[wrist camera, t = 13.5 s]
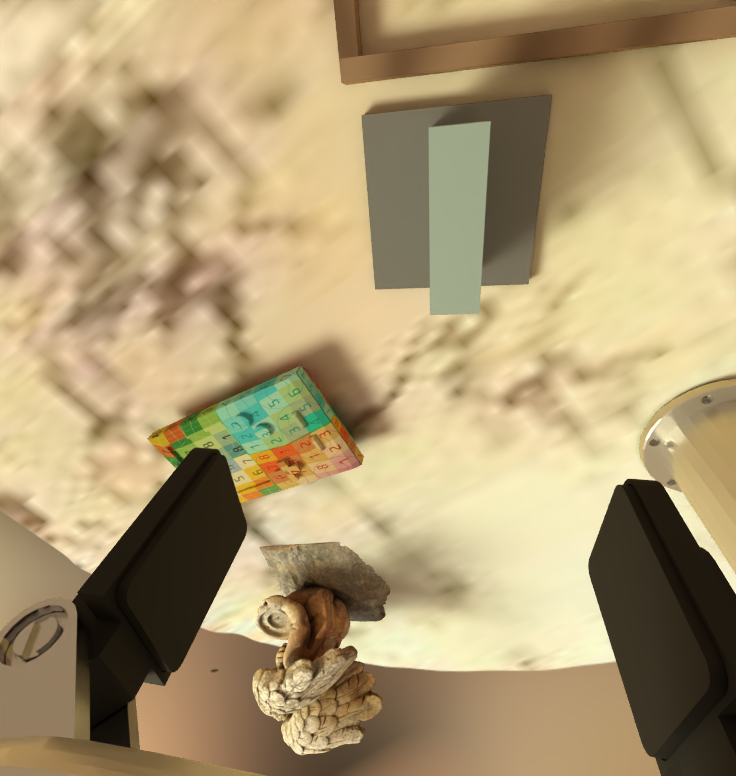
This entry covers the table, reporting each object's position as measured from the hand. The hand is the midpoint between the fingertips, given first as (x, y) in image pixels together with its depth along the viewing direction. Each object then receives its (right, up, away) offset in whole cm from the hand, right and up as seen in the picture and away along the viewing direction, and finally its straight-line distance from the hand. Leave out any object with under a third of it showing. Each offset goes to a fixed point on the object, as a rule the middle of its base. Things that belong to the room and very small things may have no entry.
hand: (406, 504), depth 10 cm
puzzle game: (-12, -1, +36) cm, 38 cm away
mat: (+5, +16, +20) cm, 27 cm away
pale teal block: (+5, +16, +19) cm, 26 cm away
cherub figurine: (-7, -25, +49) cm, 56 cm away
